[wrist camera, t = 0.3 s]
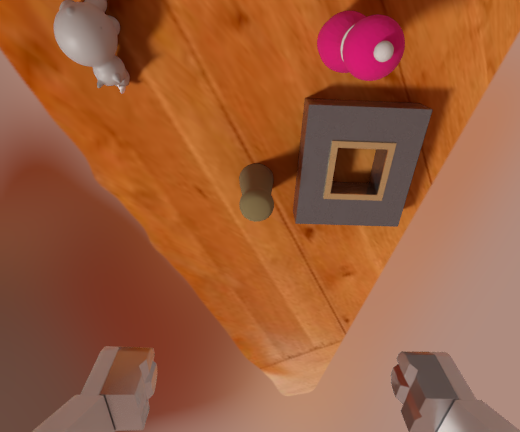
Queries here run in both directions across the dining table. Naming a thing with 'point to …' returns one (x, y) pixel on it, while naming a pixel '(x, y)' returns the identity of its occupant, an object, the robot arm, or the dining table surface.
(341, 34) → the pepper mill
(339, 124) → the block
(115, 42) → the round bodied animal figurine
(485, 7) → the dining table surface
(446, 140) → the dining table surface
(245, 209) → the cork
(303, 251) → the dining table surface
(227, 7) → the dining table surface
